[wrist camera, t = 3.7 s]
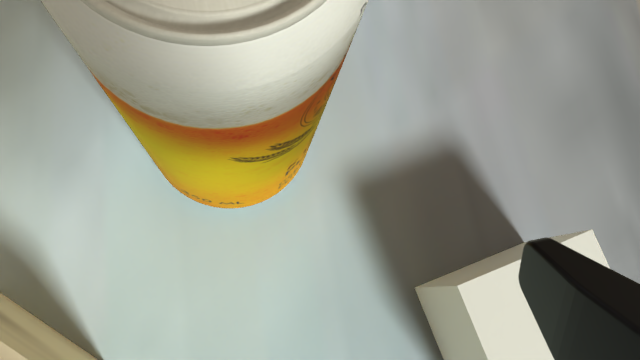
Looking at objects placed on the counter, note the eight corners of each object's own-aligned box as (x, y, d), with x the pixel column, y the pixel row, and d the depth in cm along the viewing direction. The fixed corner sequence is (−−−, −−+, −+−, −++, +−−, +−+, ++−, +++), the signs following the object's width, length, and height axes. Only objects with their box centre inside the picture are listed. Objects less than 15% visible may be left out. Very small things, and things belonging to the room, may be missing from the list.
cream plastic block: (464, 411, 23) (522, 443, 18) (413, 287, 23) (457, 285, 19) (574, 360, 24) (659, 377, 19) (523, 242, 24) (592, 229, 19)
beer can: (315, 202, 24) (426, 49, 9) (158, 219, 23) (-4, 80, 8) (297, 58, 25) (369, -290, 10) (147, 69, 24) (-16, -293, 9)
